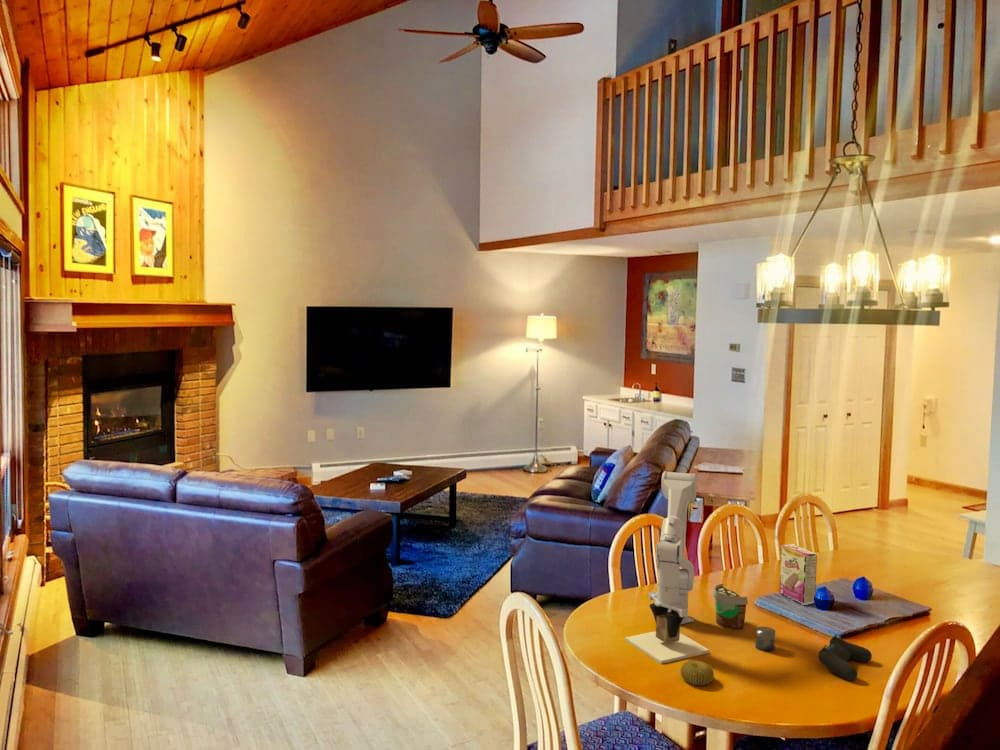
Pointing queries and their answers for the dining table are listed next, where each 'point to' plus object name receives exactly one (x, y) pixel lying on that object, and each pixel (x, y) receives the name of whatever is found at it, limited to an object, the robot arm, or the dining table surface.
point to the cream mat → (666, 647)
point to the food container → (729, 608)
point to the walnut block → (664, 630)
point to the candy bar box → (798, 573)
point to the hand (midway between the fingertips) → (666, 633)
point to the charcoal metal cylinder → (765, 639)
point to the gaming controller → (843, 657)
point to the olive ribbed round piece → (697, 672)
